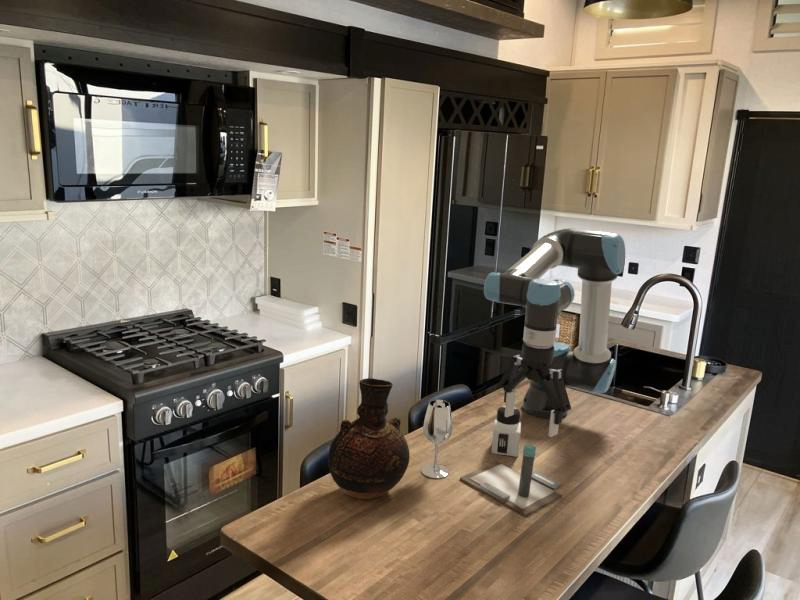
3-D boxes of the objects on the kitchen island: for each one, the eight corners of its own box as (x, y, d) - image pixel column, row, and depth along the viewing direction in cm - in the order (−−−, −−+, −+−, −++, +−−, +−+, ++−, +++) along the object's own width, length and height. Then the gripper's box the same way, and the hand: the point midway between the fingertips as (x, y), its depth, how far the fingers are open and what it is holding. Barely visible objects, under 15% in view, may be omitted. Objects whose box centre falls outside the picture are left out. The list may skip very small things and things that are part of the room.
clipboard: (496, 463, 182) (497, 458, 182) (561, 497, 167) (562, 491, 166) (459, 479, 173) (460, 474, 172) (525, 517, 157) (526, 511, 156)
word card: (534, 471, 179) (534, 470, 179) (561, 485, 172) (561, 483, 172) (526, 475, 176) (526, 474, 176) (553, 489, 170) (553, 488, 170)
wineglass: (434, 461, 182) (438, 395, 177) (455, 472, 176) (460, 404, 171) (414, 470, 176) (418, 402, 171) (435, 482, 171) (440, 412, 166)
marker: (519, 490, 167) (525, 443, 165) (530, 493, 166) (537, 446, 163) (516, 495, 165) (522, 448, 162) (527, 498, 163) (534, 451, 161)
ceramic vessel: (336, 517, 153) (339, 399, 146) (319, 480, 169) (321, 372, 162) (418, 503, 161) (425, 391, 153) (395, 469, 176) (400, 366, 169)
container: (518, 457, 186) (522, 415, 183) (491, 453, 188) (494, 412, 185) (518, 445, 194) (522, 405, 191) (492, 441, 195) (496, 402, 192)
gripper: (488, 333, 162) (482, 411, 167) (573, 361, 144) (563, 448, 149) (508, 328, 167) (501, 404, 172) (592, 355, 149) (582, 439, 154)
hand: (530, 425), depth 161 cm, fingers open, 13 cm apart
